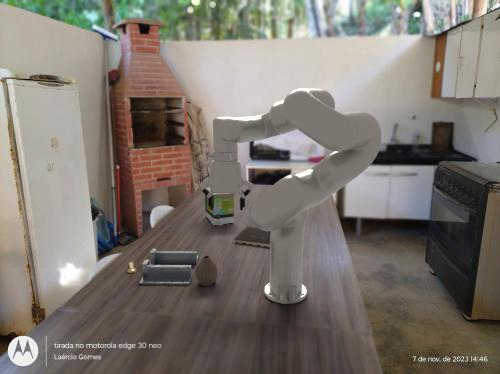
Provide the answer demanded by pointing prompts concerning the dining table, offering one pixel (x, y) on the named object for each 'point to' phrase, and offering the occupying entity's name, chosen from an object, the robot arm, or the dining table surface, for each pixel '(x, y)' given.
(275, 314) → the dining table surface
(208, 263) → the vase
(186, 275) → the bracket
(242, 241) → the hardcover book
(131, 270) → the brass key
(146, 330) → the dining table surface
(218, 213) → the tea box
